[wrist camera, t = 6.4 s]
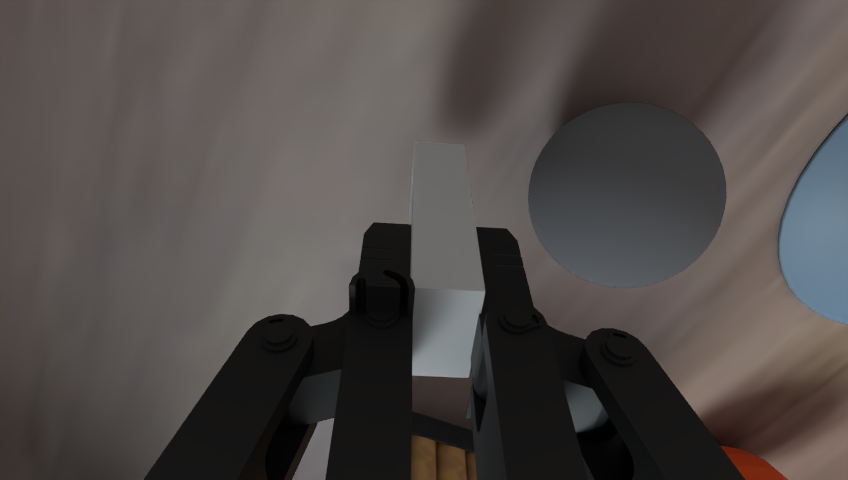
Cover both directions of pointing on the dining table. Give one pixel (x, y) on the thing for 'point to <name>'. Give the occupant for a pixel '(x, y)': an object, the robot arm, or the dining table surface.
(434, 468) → the ammunition clip
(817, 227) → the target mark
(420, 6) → the dining table surface
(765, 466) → the clementine
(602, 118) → the dark grey sphere
